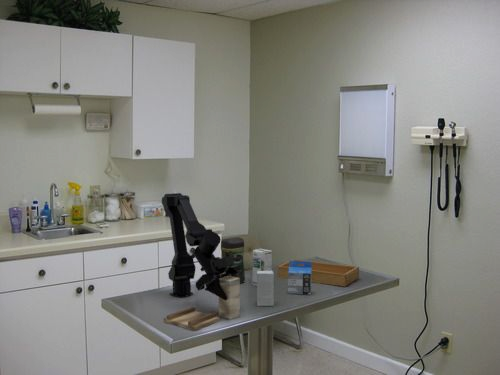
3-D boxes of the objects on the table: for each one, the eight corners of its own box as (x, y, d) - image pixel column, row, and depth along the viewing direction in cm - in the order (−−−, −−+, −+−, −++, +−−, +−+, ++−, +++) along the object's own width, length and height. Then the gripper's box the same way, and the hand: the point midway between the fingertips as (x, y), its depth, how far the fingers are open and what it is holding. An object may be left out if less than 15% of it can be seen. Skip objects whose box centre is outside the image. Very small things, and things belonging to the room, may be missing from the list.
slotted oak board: (163, 321, 190) (163, 314, 190) (188, 312, 200) (188, 305, 200) (195, 331, 182) (195, 323, 182) (219, 321, 192) (219, 313, 191)
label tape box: (287, 294, 223) (287, 262, 222) (288, 291, 227) (289, 260, 226) (310, 295, 222) (311, 263, 221) (311, 292, 226) (311, 261, 224)
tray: (277, 278, 249) (277, 265, 248) (293, 270, 262) (293, 258, 261) (345, 288, 233) (345, 274, 232) (358, 280, 246) (359, 266, 245)
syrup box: (251, 285, 235) (251, 250, 234) (261, 282, 239) (261, 247, 238) (262, 288, 231) (262, 252, 230) (272, 285, 236) (272, 249, 234)
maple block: (218, 316, 196) (218, 278, 195) (228, 312, 200) (228, 275, 199) (230, 319, 193) (230, 281, 192) (239, 315, 197) (239, 278, 196)
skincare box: (273, 302, 212) (273, 270, 211) (273, 306, 208) (274, 273, 207) (256, 302, 212) (256, 270, 211) (256, 306, 208) (257, 273, 206)
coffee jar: (236, 278, 246) (236, 235, 244) (247, 282, 239) (248, 238, 237) (217, 282, 240) (217, 237, 238) (228, 286, 233) (228, 240, 232)
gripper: (201, 251, 189) (227, 290, 184) (237, 242, 204) (262, 278, 199) (184, 271, 195) (209, 309, 190) (220, 261, 210) (244, 296, 204)
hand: (232, 297), depth 195 cm, fingers open, 6 cm apart
